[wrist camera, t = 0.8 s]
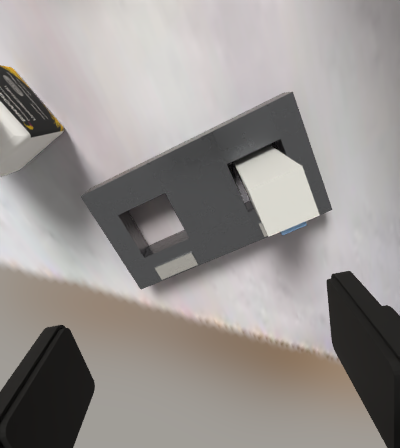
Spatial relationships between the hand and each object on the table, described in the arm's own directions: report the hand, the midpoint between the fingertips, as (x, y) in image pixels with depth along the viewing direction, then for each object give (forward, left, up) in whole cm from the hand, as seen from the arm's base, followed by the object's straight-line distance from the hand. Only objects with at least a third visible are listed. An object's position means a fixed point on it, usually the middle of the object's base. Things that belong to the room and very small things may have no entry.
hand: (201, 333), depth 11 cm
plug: (-6, +2, -23) cm, 24 cm away
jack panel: (0, +2, -23) cm, 23 cm away
